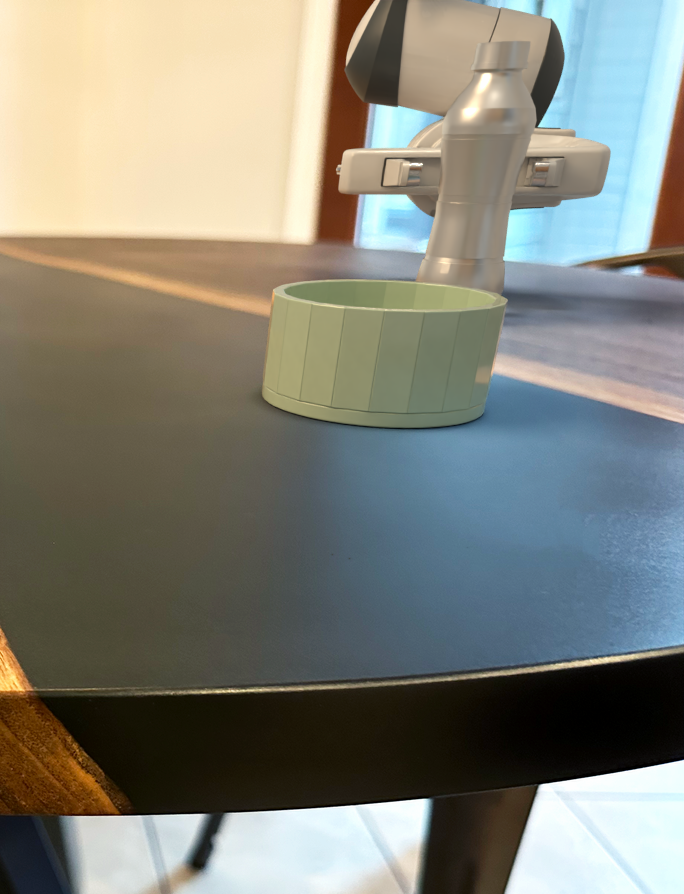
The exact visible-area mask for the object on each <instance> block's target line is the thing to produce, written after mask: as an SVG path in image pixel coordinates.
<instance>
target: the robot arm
mask: <svg viewBox="0 0 684 894" xmlns="http://www.w3.org/2000/svg"><path fill="white" fill-rule="evenodd" d="M501 41H530V42H531V43H530V45H531V46H530V51H529V56H528V61H527V62H529V63H528V68H527V69H523V71H522V80H523V82H524V84H525V86H526V88H527V90H528V91H529V93H530V95H531V98H532V100H533V103H534V105H535V108H536V120H537V121H536V125H535V128H534V132H533V134H532V135H531V141H530V144H529V147H528V150H527V153H526V156H525V159H524V162H523V164H522V167H521V170H520V173H519V177H518V181H517V185H516V189H515V193H514V195H513V196H512V200H511V201H512V205H511V209H510V211H516V210H517V211H518V210H531V209H545V208H555V207H558V206H560V205H561V203H562V201H571V200H579V199H587V198H593V197H597V196H599V195H600V194H601V193H602V191H603V189H604V186H605V182H606V178H607V175H608V171H609V166H610V161H611V154H612V153H611V149H610V146H608V145H607V144H604V143H601V142H599V141H596V140H593V139H589V138H585V137H584V138H583V137H578V136H577V137H576V135H577V134H576V133H577V132H576V130H575V129H573V128H561V127H546V126H545V127H541V126H539V125H540V124H541V122H542V121H543V119H544V117H545V115H546V114H547V112H548V110H549V107H550V105H551V103H552V101H553V99H554V97H555V95H556V92H557V89H558V87H559V84H560V82H561V78H562V75H563V71H564V67H565V59H566V58H565V57H566V54H565V53H566V52H565V48H564V44H563V43H564V42H563V39H562V36H561V33H560V29H559V28H558V25H557V23H556V22H555V21H554V20H553V18H551V17H550V18H548V17H545V16H541V15H537V14H533V13H529V12H526V11H520V10H516V9H512V8H509V7H502V6H501V7H496V6H492V5H488V4H484V3H478V2H474V1H470V0H374V1H373V3H371V5H370V6H369V8H368V9H367V10H366V12H365V14H364V15H363V16H362V18H361V20H360V22H359V23H358V24H357V26H356V29H355V31H354V32H353V35H352V37H351V40H350V43H349V45H348V49H347V52H346V57H345V59H346V60H345V67H344V72H345V75H346V78H347V80H348V82H349V85H351V87H352V89H353V91H354V92H355V94H356V95H357V96H358V98H359V99H360V100H361V101H362V102H363V103H364V104H365V103H366V104H371V105H378V106H386V107H390V108H391V107H392V108H398V107H402V108H405V109H410V110H414V111H417V112H423V113H425V114H430V115H435V116H439V117H441V118H440V119H438V120H436V121H433V122H431V123H430V124H427V125H426V126H425V127H423V128H422V129H421V130H419V132H418V133H416V134H415V135H414V136H413V137H412V139H411V140H410V141H409V143H408V144H407V146H406V147H359V148H351V149H346V150H344V151H343V153H342V158H341V164H338V165H337V167H336V169H335V171H336V175H338V176H339V180H338V188H337V189H338V192H339V193H340V194H344V195H361V196H363V195H372V196H373V195H375V196H377V195H378V196H382V195H385V196H386V195H387V196H388V195H390V196H399V195H401V196H402V195H403V196H406V197H407V198H408V199H409V200H410V201H411V203H413V204H414V205H415V206H416V208H418V209H419V210H420V211H422V212H423V213H424V214H426V215H427V216H430V217H431V218H434V217H435V213H436V205H437V200H438V198H439V194H438V189H439V181H440V168H441V139H442V125H443V120H444V118H445V116H446V114H447V111H448V109H449V108H450V107H451V105H452V104H453V103H454V101H455V100H456V99H457V97H458V96H459V95H460V94H461V93H462V91H463V90H464V89H465V88H466V87H467V86H468V85H469V83H470V82H471V81H472V79H473V76H474V71H470V69H471V64H473V61H474V55H475V50H476V47H477V44H479V43H486V42H501Z"/></svg>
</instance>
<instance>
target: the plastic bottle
mask: <svg viewBox="0 0 684 894" xmlns="http://www.w3.org/2000/svg"><path fill="white" fill-rule="evenodd" d="M530 43H531V42H530V41H501V42H486V43H479V44H477V47H476V50H475V55H474V61H473V64H471V69H470V71H474V76H473V79H472V81H471V82H470V83H469V85H468V86H467V87H466V88H465V89H464V90H463V91H462V93H461V94H460V95H459V96H458V97H457V99H456V100H455V101H454V103H453V104H452V105H451V107H450V108H449V109H448V111H447V114H446V116H445V118H444V120H443V125H442V139H441V168H440V181H439V189H438V194H439V198H438V200H437V205H436V213H435V217H433V221H432V226H431V229H430V232H429V233H430V234H429V237H428V242H427V244H426V250H425V256H424V257H422V261H421V263H420V264H419V265H420V266H419V269H418V271H417V275H416V278H415V280H414V281H415V282H427V283H438V284H448V285H456V286H463V287H469V288H476V289H481V290H485V291H489V292H493V293H497V294H499V295H501V296H502V295H503V292H504V290H505V289H504V288H505V275H506V263H505V260H504V257H505V253H506V244H507V235H508V229H509V228H508V226H509V218H510V212H511V210H510V209H511V205H512V201H511V200H512V196H513V195H514V193H515V189H516V185H517V181H518V177H519V173H520V170H521V167H522V164H523V162H524V159H525V156H526V153H527V150H528V147H529V144H530V141H531V135H532V134H533V132H534V128H535V125H536V121H537V120H536V108H535V105H534V103H533V100H532V98H531V95H530V93H529V91H528V90H527V88H526V86H525V84H524V82H523V80H522V71H523V69H527V68H528V63H529V62H527V61H528V56H529V51H530V46H531V45H530Z"/></svg>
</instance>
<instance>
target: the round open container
mask: <svg viewBox="0 0 684 894" xmlns="http://www.w3.org/2000/svg"><path fill="white" fill-rule="evenodd" d="M415 281H416V280H414V281H413V280H397V279H395V280H394V279H364V278H363V279H362V278H361V279H359V278H355V279H353V278H350V279H349V278H348V279H347V278H345V279H319V280H318V279H317V280H306V281H297V282H291V283H284V284H281V285H278V286H277V287H275V288H273V289H272V295H271V303H270V310H269V311H270V312H269V320H268V329H267V335H266V336H267V338H266V346H265V354H264V361H263V363H264V364H263V371H262V386H261V396H262V399H263V400H264V401H265V402H267V403H268V404H270V405H271V406H273V407H275V408H276V409H277V408H278V409H279V410H282V411H285V412H287V413H291V414H293V415H297V416H301V417H305V418H309V419H314V420H319V421H325V422H330V423H336V424H344V425H351V426H360V427H361V426H362V427H370V428H371V427H373V428H390V429H425V428H426V429H428V428H439V427H450V426H454V425H455V426H456V425H461V424H466V423H470V422H472V421H475V420H477V419H479V418H480V417H481V416H483V414H484V413H485V409H486V403H487V399H488V397H489V394H490V390H491V389H490V388H491V385H492V379H493V375H494V370H495V366H496V360H497V355H498V351H499V345H500V340H501V336H502V331H503V326H504V321H505V317H506V311H507V307H508V302H509V300H508V298H506V297H504V296H502V294H501V295H499V294H497V293H493V292H489V291H485V290H481V289H476V288H469V287H463V286H456V285H448V284H438V283H427V282H415Z"/></svg>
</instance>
